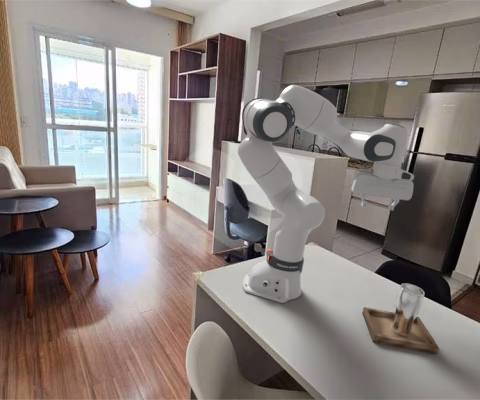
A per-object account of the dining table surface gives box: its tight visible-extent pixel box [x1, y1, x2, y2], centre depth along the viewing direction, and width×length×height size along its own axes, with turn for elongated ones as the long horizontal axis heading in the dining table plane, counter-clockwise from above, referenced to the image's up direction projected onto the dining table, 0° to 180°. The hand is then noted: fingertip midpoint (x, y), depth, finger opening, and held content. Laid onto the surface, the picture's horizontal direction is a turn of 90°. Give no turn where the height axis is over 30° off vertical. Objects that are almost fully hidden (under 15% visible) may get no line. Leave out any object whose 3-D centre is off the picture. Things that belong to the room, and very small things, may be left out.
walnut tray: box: [361, 306, 440, 355], centre depth 94 cm, size 18×14×2 cm
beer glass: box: [390, 282, 425, 337], centre depth 92 cm, size 7×7×15 cm
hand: (377, 208), depth 108 cm, fingers open, 8 cm apart
